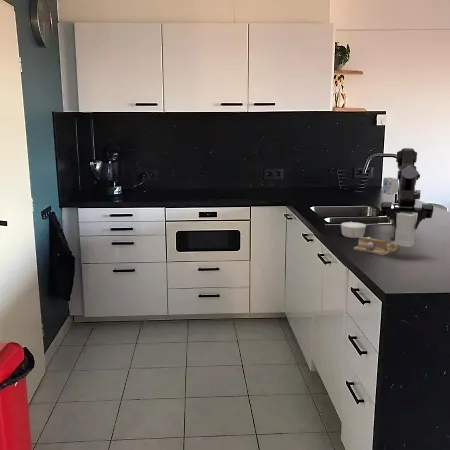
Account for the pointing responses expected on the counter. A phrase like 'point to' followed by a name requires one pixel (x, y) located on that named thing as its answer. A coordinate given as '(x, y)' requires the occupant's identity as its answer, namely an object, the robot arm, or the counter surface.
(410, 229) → the skincare box
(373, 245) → the cradle
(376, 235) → the counter surface
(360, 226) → the ramekin
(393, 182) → the light bulb box
